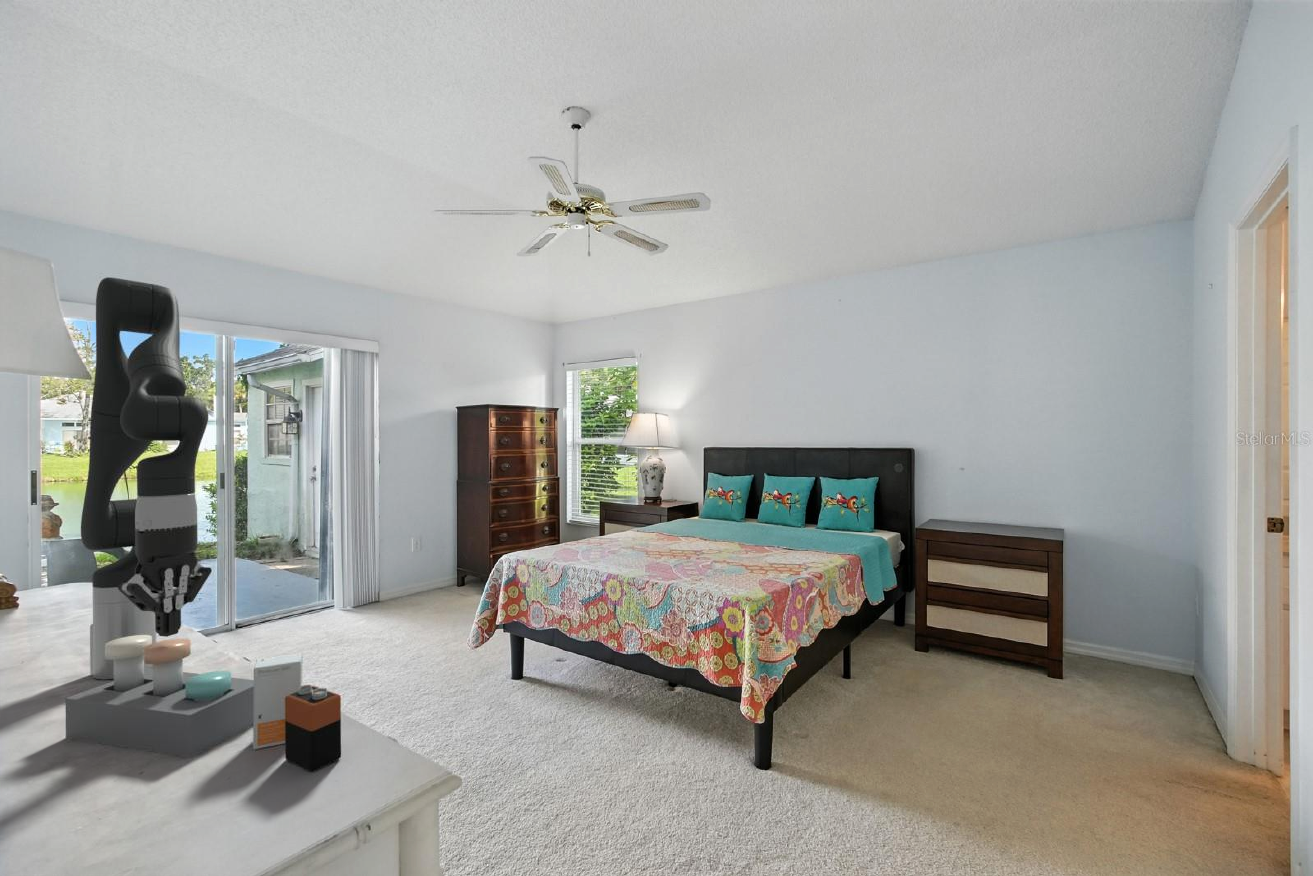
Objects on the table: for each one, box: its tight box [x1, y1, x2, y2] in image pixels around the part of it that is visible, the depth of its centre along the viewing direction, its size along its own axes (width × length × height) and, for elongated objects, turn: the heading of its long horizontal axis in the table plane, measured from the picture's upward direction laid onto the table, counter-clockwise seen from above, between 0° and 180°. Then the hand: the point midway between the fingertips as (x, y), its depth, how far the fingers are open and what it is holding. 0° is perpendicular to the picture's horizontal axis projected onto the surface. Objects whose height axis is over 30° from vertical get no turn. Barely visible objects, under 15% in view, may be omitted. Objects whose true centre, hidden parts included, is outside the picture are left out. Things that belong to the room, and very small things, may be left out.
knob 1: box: [105, 635, 152, 692], centre depth 95 cm, size 6×6×8 cm
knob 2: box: [185, 670, 232, 702], centre depth 91 cm, size 6×6×8 cm
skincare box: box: [252, 652, 304, 750], centre depth 90 cm, size 6×4×12 cm
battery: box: [284, 684, 342, 772], centre depth 84 cm, size 4×7×10 cm, turn 60°
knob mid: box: [144, 638, 192, 697], centre depth 93 cm, size 6×6×8 cm
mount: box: [65, 668, 254, 758], centre depth 93 cm, size 24×12×6 cm, turn 76°
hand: (168, 634), depth 93 cm, fingers closed
